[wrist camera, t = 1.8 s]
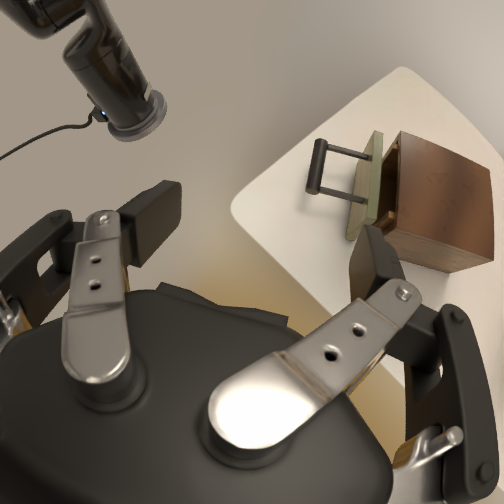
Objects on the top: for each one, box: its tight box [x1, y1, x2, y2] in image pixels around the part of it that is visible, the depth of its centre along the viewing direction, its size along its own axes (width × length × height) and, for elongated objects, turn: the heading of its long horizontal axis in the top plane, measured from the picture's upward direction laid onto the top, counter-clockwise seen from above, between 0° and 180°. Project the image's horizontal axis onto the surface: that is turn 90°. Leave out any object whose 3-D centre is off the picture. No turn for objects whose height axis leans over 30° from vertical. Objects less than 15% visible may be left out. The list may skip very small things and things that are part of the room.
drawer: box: [305, 131, 398, 240], centre depth 33 cm, size 20×12×9 cm, turn 75°
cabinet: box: [382, 131, 494, 273], centre depth 32 cm, size 15×13×11 cm
